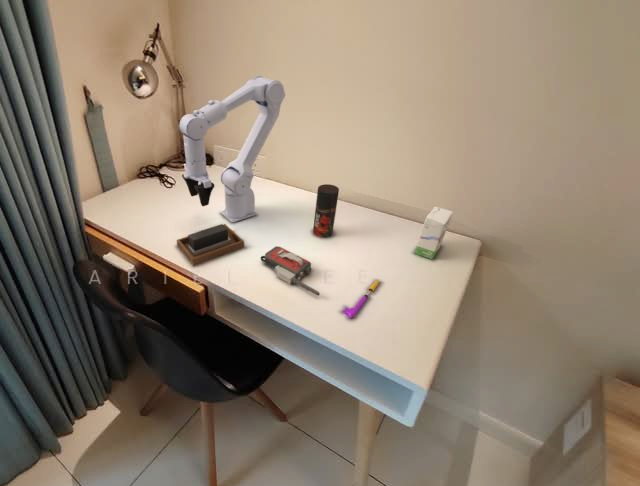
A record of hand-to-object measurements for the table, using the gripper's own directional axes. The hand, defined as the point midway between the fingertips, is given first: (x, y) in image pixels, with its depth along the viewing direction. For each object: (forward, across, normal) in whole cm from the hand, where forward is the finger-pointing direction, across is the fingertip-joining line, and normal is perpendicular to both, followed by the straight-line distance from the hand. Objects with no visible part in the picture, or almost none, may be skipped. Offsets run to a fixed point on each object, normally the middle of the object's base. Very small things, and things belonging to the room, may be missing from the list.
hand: (199, 200), depth 109 cm
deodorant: (+10, +24, +30) cm, 40 cm away
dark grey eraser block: (+9, +12, -3) cm, 15 cm away
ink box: (+10, +47, +49) cm, 69 cm away
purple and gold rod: (+10, +51, +18) cm, 55 cm away
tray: (+9, +12, -3) cm, 16 cm away
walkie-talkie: (+10, +35, +10) cm, 38 cm away
